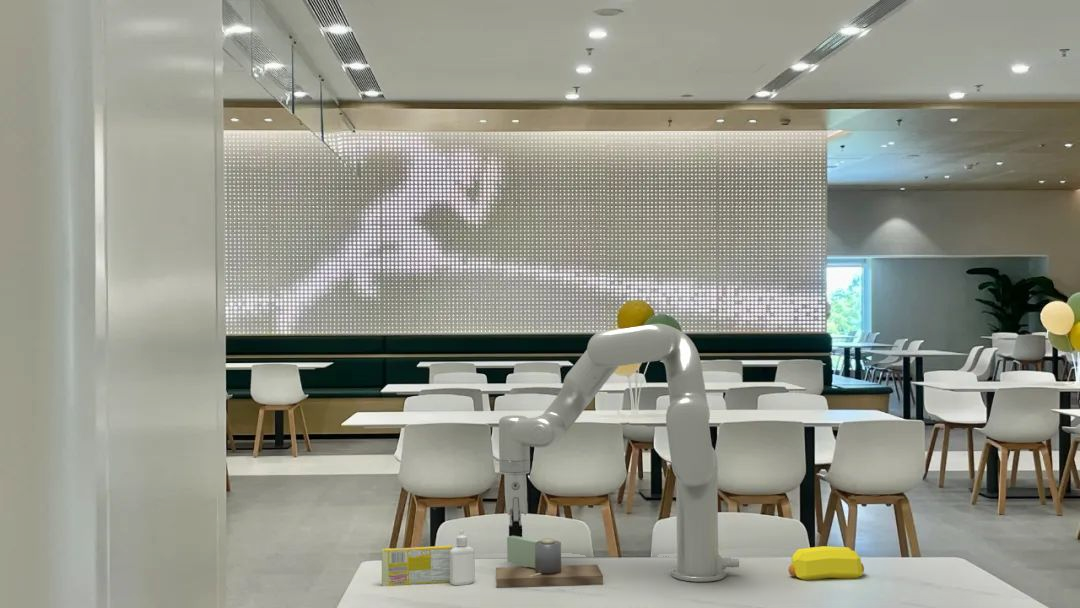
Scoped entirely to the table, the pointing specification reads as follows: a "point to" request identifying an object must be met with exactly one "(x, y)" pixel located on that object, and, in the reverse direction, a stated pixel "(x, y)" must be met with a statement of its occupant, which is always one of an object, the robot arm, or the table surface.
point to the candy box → (416, 565)
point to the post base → (548, 576)
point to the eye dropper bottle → (462, 562)
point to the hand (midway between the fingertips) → (515, 541)
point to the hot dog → (826, 563)
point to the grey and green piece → (535, 553)
